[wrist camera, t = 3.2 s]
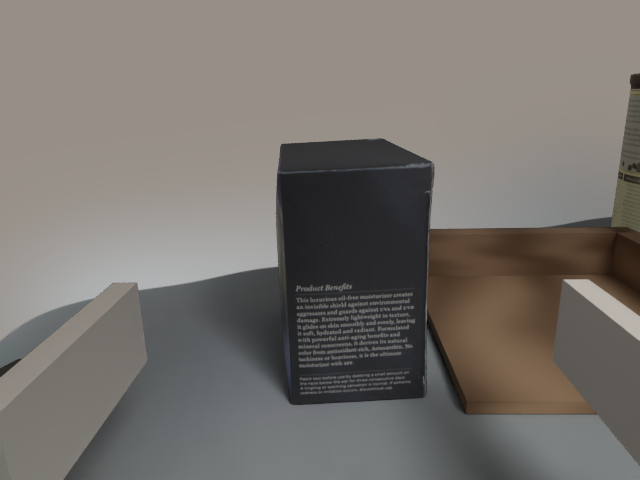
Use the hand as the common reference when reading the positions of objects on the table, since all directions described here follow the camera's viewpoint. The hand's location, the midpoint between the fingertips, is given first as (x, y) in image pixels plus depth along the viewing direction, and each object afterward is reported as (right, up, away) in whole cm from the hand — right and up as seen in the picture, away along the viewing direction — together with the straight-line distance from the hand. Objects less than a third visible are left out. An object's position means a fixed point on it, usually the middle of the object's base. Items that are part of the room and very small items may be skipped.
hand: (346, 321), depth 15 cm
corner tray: (+13, -2, +13) cm, 18 cm away
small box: (0, -3, +11) cm, 12 cm away
